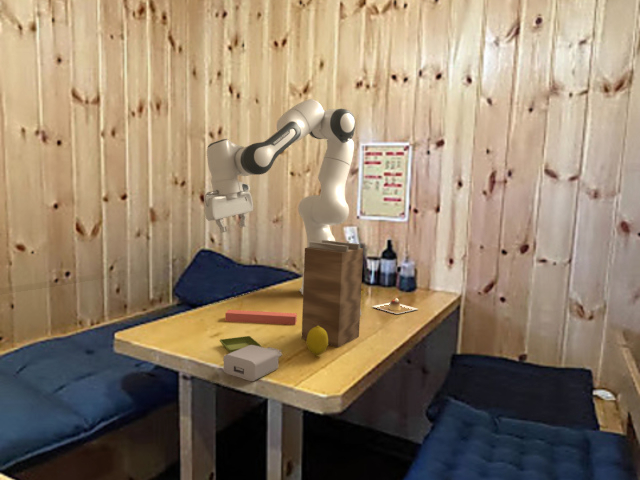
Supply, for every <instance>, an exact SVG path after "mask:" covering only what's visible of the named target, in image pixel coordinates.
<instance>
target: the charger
mask: <svg viewBox="0 0 640 480" xmlns="http://www.w3.org/2000/svg"><path fill="white" fill-rule="evenodd" d="M282 351H283V350H282V349H278V348H276V347H271V346H269V347H263V346H261V347H259V346H255V345H249V346H246V347H244V348H241V349H239V350H237V351H234V352H232V353H230V352H229V353H228V354H224V355H223V372H224V373H225V374H227V375H230V376H234V377H237V378H240V379H243V380H247V381H251V382H255V381H257V380H258V379H261V378H262V377H264V376H266V375H268V374H270V373H272V372H274V371H277V370H278V369H279V358H280V357H282V356H283V352H282Z"/></svg>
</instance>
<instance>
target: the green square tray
mask: <svg viewBox="0 0 640 480" xmlns="http://www.w3.org/2000/svg"><path fill="white" fill-rule="evenodd" d="M219 343H220V344H221V345H222V346H223V348H225V349H226V350H227V351H228V352H229V353H232V352H234V351H237V350H239V349H241V348H244V347H246V346H249V345H255V346H259V347H262V345H261V344H260V343H259V342H258V341H257V340H255V339H254V338H253V337H252V336H250V335H246V336H245V335H244V336H238V337H230V338H223V339H222V338H221V339H219Z"/></svg>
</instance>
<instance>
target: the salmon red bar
mask: <svg viewBox="0 0 640 480" xmlns="http://www.w3.org/2000/svg"><path fill="white" fill-rule="evenodd" d="M297 315H298V313H297V312H282V311H281V312H277V311H276V312H275V311H260V310H241V309H227V311H226V312H225V316H224V317H225V319H224V321H225V322H235V323H236V322H237V323H253V324H270V325H271V324H272V325H273V324H274V325H275V324H276V325H292V326H295V325H297V319H298V318H297V317H298V316H297Z"/></svg>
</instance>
